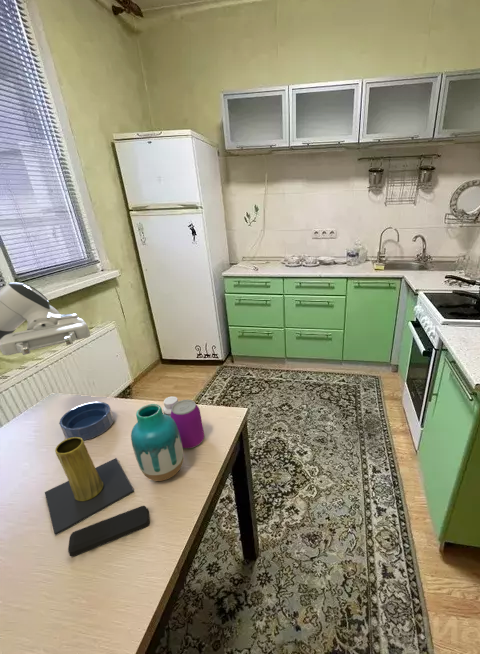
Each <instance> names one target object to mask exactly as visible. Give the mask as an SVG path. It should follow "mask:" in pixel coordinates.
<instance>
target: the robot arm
mask: <svg viewBox="0 0 480 654" xmlns="http://www.w3.org/2000/svg"><path fill="white" fill-rule="evenodd" d="M25 322H27V323H26V330H22V331H16V330H17V328H19V327H20V326H21V325H23V323H25ZM15 331H16V332H15ZM89 337H91V332H90V328H89V326H88V324H87V322H86V321H85V320H84V319H83V318H81V317H79V315H78V314H77V313H66V314H65V313H64V314H61V313H60V311H59V310H58V309H56V308H55V306H52V305H51V304H50V302H49V299H48V298H47V296H45V295H44V294H43V293H42V292H41V291H39V290H38V289H36V288H35V287H33V286H31V285H29V284H27V283H23V282H18V281H17V282H16V281H15V282H14V281H12V282H8V283H7V284H5V285H4V286H3V287H1V288H0V352H1V354H2V355H3V356H11V355H17V354H22V355H23V356H25V355H29V354H31V351H34V350H38V349H43V348H47V347H52V346H55V345H60V344H64V343H65V344H66V346H68V345H69V346H70V345H72V344H74V342H75V341H78V340H83V339H87V338H89Z"/></svg>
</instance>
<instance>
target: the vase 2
mask: <svg viewBox="0 0 480 654" xmlns="http://www.w3.org/2000/svg"><path fill="white" fill-rule="evenodd" d="M135 416H136V421H137V422H136V423H135V424H134V426H133V427H132V429H131V433H130V441H131V446H132V449H133V454H134V457H135V459H136V462H137V464H138V467H139V469H140V471H141V473H142V474H143V475H144V476H145V477H146V478H147V479H149V480H151V481H153V482H154V481H156V482H162V481H166V480H170V479H171V478H172V477H174V476H176V475H177V474H178V473H179V471H180V470H181V468H182V466H183V463H184V448H183V447H182V442H181V438H180V434H179V430H178V427H177V425H176V423H175V421H174V420H173V419H172V418H171V417H170V416H168V415H165V414H164V412H163V408H162V407H161V406H160V404H156V403H149V404H146V405H143V406H142V407H140V408H139V409H137V411H136V413H135Z"/></svg>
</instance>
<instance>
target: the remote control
mask: <svg viewBox="0 0 480 654" xmlns="http://www.w3.org/2000/svg"><path fill="white" fill-rule="evenodd" d="M150 521H151V520H150V512H149V509H148V508H147V506H145V505H140V506H138V507H135V508H133V509H130V510H127V511H124V512H122V513H118V514H116V515H114V516H111V517H109V518H106V519H103V520H100V521H98V522H96V523H92V524H90V525H88V526H85V527H83V528H82V527H81V528H79V529H76V530H75V531H72V533H71V534H70V535H69V541H68V548H67V550H68V555H69V557H71V558H72V557H76V556H78V555H80V554H81V555H82V554H83V553H85V552H88V551H91V550H93V549H95V548H99V547H101V546H103V545H106V544H108V543H111V542H113V541H115V540H118V539H120V538H124V537H126V536H129V535H131V534H133V533H136V532H138V531H141V530H143V529H146V528H147V527H149V526H150Z"/></svg>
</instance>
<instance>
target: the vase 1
mask: <svg viewBox="0 0 480 654" xmlns="http://www.w3.org/2000/svg"><path fill="white" fill-rule="evenodd" d="M84 441H85V440H83V439H82V438H80V437H72V438H68V439H67V438H65V439H64V440H62V441H60V442H59V443H58V444H57V445H56V447H55V450H54V451H55V455H56V457H57V459H58V461H59V463H60V465H61V467H62V469H63V471H64V474H65V476H66V478H67V481H69V483H70V486H71V489H72V491H73V494H74V498H75V499H76V500H78V501H87V500H90V499H92V498H94V497H95V496H97V495H98V494H99V493H100V492H101V490H102V489H103V482H102V480H101V479H100V476H99V474H98V472H97V470H96V466H95V464H94V462H93V460H92V458H91V455H90V453H89V450H88V449H87V446H86V445H85V444H86V443H85V442H84Z"/></svg>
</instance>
